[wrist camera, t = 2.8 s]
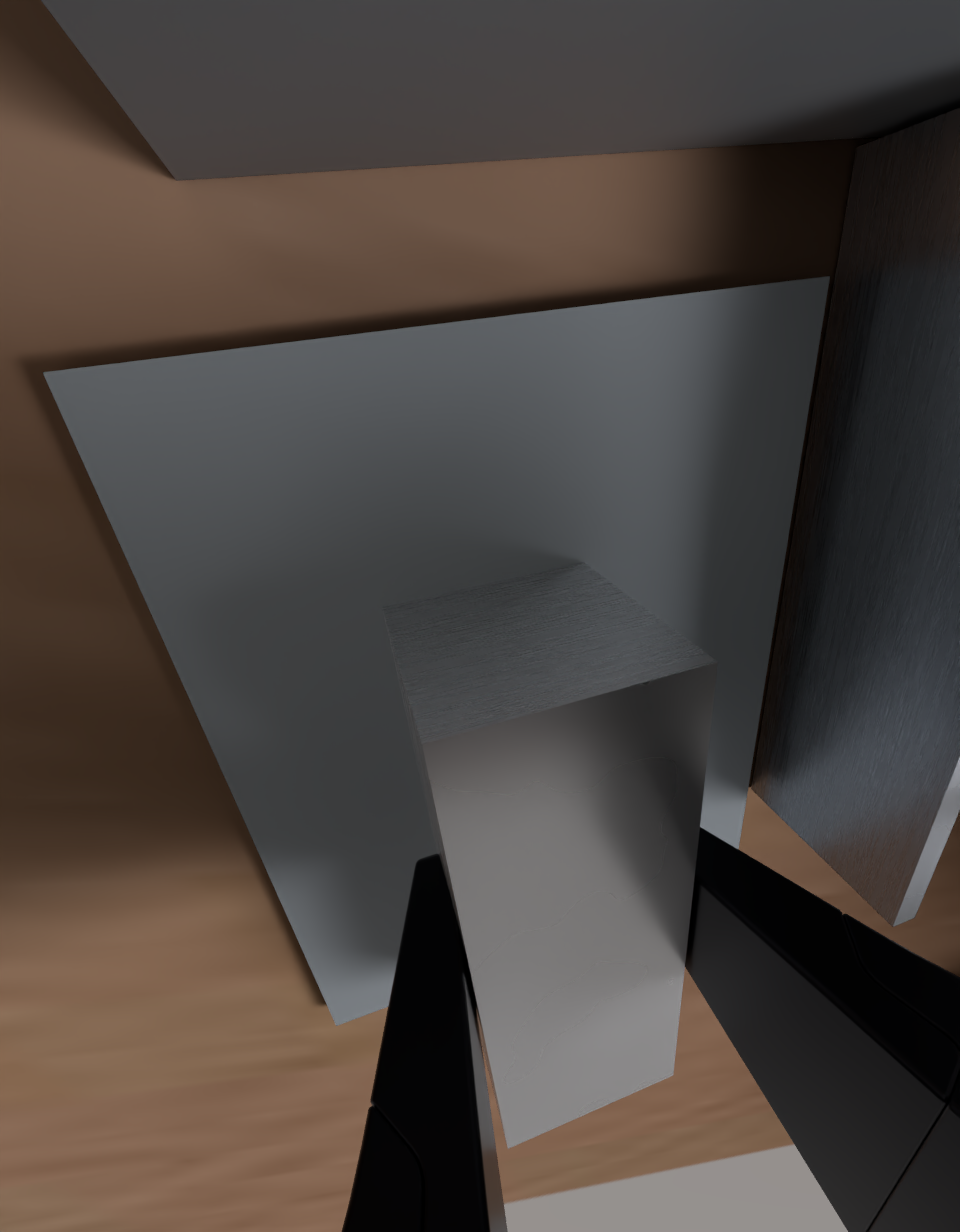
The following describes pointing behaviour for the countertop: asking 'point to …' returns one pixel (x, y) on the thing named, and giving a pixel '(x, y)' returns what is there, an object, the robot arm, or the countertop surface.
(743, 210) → the countertop surface
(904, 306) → the bracket
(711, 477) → the grey mat
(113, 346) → the countertop surface
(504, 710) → the silver metal bar
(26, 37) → the countertop surface
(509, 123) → the case
